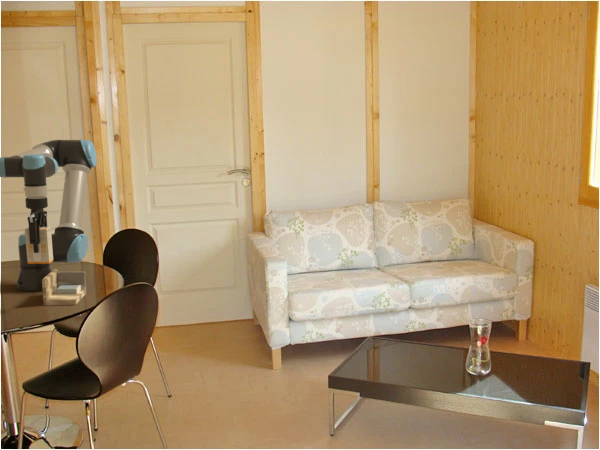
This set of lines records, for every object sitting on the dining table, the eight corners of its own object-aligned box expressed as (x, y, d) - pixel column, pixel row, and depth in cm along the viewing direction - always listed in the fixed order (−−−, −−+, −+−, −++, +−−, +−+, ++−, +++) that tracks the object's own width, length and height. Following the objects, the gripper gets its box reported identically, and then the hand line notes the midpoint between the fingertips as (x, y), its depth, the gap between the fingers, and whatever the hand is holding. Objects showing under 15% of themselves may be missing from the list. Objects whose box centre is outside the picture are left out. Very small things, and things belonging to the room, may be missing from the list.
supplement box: (53, 260, 262) (51, 226, 259) (49, 264, 257) (47, 229, 254) (31, 260, 262) (29, 226, 259) (26, 263, 257) (24, 229, 254)
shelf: (55, 293, 280) (54, 269, 278) (86, 293, 281) (84, 269, 279) (43, 305, 264) (41, 279, 263) (75, 304, 265) (74, 279, 263)
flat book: (61, 289, 278) (61, 284, 278) (81, 289, 279) (80, 284, 278) (56, 294, 272) (56, 288, 272) (77, 293, 273) (76, 288, 272)
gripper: (34, 193, 263) (38, 253, 268) (16, 200, 246) (21, 265, 250) (54, 193, 263) (58, 253, 268) (37, 200, 246) (42, 265, 250)
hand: (40, 259), depth 259 cm, fingers closed on supplement box, 5 cm apart
